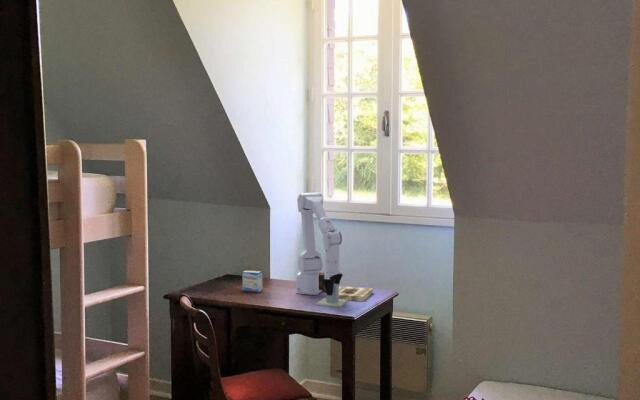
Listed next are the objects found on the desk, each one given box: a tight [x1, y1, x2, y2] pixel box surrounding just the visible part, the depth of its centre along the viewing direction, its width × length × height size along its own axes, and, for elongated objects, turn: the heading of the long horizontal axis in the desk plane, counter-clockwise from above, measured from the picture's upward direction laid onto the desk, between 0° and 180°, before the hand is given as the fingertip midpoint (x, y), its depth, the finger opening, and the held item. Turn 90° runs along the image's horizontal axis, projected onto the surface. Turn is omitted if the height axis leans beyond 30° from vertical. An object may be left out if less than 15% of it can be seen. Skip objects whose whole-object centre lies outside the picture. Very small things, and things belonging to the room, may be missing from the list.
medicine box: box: [242, 270, 263, 293], centre depth 316 cm, size 8×4×9 cm, turn 73°
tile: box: [316, 297, 349, 308], centre depth 293 cm, size 10×10×1 cm
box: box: [319, 271, 326, 292], centre depth 318 cm, size 6×6×7 cm
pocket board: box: [339, 285, 374, 302], centre depth 306 cm, size 16×16×2 cm
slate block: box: [325, 284, 340, 303], centre depth 292 cm, size 4×4×7 cm
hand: (332, 293), depth 292 cm, fingers open, 7 cm apart
